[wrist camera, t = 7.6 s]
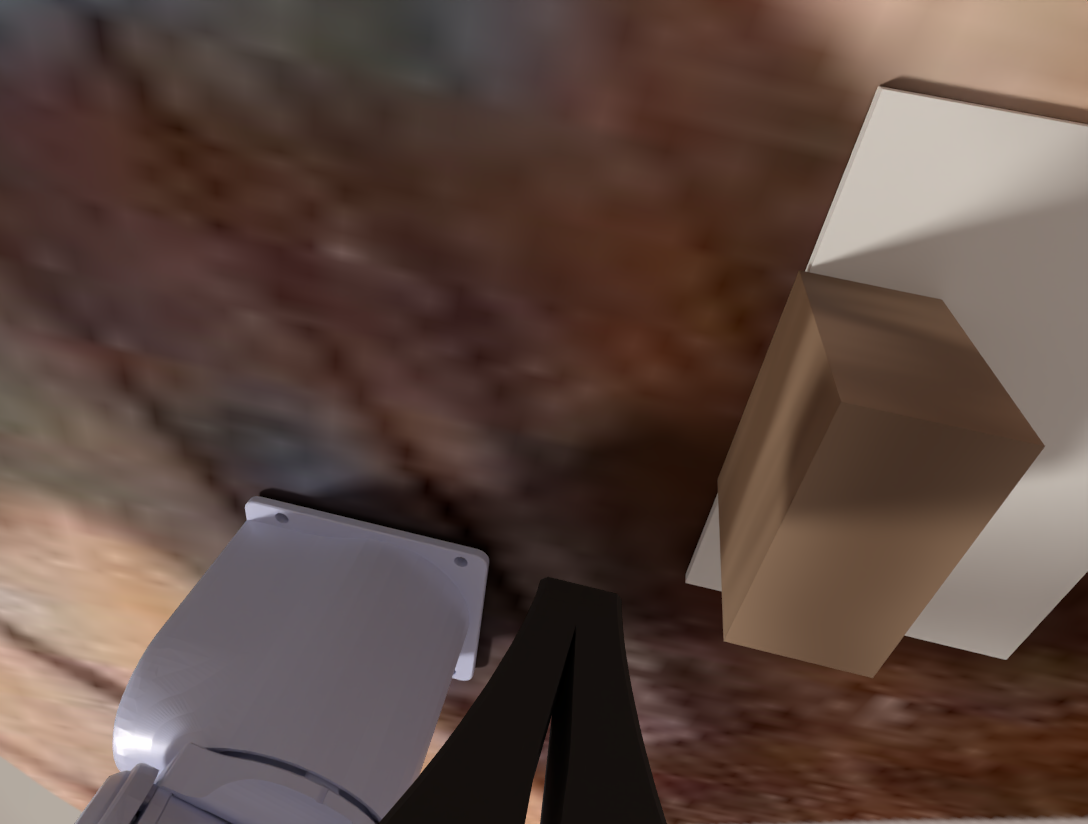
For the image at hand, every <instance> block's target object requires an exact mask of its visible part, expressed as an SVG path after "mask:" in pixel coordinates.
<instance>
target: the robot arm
mask: <svg viewBox="0 0 1088 824" xmlns="http://www.w3.org/2000/svg"><path fill="white" fill-rule="evenodd" d="M245 511H246V517H247V521H246V522H245V523H244V524H243V526H242V527H241V528H240V529H239V531H238V532H237V533H236V535H235V536H234V537H233V538H232V540H231V541H230V542H229V543H228V545H227V546H226V547H225V548H224V550H223V551H222V552H221V553H220V555H219V556H218V557H217V559H216V560H215V561H214V562H213V564H212V565H211V566H210V567H209V569H208V570H207V571H206V572H205V574H204V575H203V576H202V578H201V579H200V580H199V581H198V583H197V584H196V585H195V586H194V588H193V589H192V590H191V591H190V593H189V594H188V595H187V596H186V598H185V599H184V600H183V602H182V603H181V604H180V605H179V607H178V608H177V609H176V610H175V612H174V613H173V614H172V615H171V617H170V618H169V619H168V621H167V622H166V623H165V624H164V626H163V627H162V628H161V629H160V631H159V632H158V633H157V634H156V636H155V637H154V639H153V640H152V641H151V643H150V644H149V646H148V647H147V649H146V651H145V652H144V654H143V655H142V657H141V659H140V660H139V662H138V664H137V666H136V668H135V670H134V672H133V674H132V676H131V678H130V680H129V682H128V684H127V687H126V689H125V691H124V694H123V696H122V699H121V702H120V704H119V708H118V711H117V714H116V719H115V723H114V731H113V755H114V760H115V763H116V766H117V767H118V769H119V770H120V772H119V773H116V774H114V775H111V776H109V777H108V778H107V779H106V781H105V782H104V783H103V785H102V786H101V787H100V789H99V790H98V792H97V793H96V794H95V796H94V797H93V798H92V800H91V801H90V802H89V804H88V805H87V807H86V808H85V809H84V811H83V812H82V814H81V815H80V816H79V818H78V819H77V820H76V822H75V823H74V824H525V819H526V814H527V808H528V803H529V798H530V793H531V787H532V782H533V778H534V775H535V771H536V768H537V764H538V761H539V757H540V754H541V750H542V747H543V744H544V740H545V737H546V733H547V730H548V726H549V723H550V719H551V716H552V719H551V728H550V737H549V747H548V756H547V765H546V774H545V784H544V793H543V802H542V812H541V821H540V824H667V823H666V820H665V817H664V813H663V810H662V807H661V804H660V800H659V797H658V794H657V790H656V787H655V783H654V780H653V776H652V772H651V769H650V765H649V761H648V757H647V754H646V750H645V746H644V742H643V738H642V734H641V729H640V725H639V720H638V716H637V711H636V706H635V702H634V697H633V692H632V687H631V682H630V676H629V670H628V664H627V657H626V651H625V643H624V634H623V623H622V600H621V598H620V597H619V596H618V594H616V593H612V592H608V591H604V590H600V589H595V588H591V587H587V586H583V585H579V584H575V583H571V582H567V581H563V580H558V579H554V578H550V577H547V578H544V579H542V580H541V581H540V584H539V587H538V590H537V593H536V596H535V598H534V600H533V603H532V605H531V607H530V610H529V612H528V614H527V616H526V618H525V620H524V622H523V624H522V626H521V628H520V629H519V631H518V633H517V635H516V637H515V639H514V641H513V642H512V644H511V646H510V647H509V649H508V651H507V652H506V654H505V656H504V657H503V659H502V661H501V662H500V664H499V665H498V667H497V669H496V670H495V672H494V674H493V675H492V677H491V679H490V680H489V682H488V683H487V685H486V686H485V688H484V689H483V691H482V692H481V693H480V695H479V696H478V698H477V699H476V701H475V702H474V704H473V705H472V706H471V708H470V709H469V711H468V712H467V714H466V715H465V716H464V718H463V719H462V721H461V722H460V724H459V725H458V726H457V728H456V729H455V730H454V732H453V733H452V734H451V736H450V737H449V738H448V740H447V741H446V742H445V744H444V745H443V746H442V748H441V749H440V750H439V751H438V753H437V754H436V755H435V757H434V758H433V759H432V760H431V762H430V763H429V764H428V765H427V767H426V768H425V769H424V770H423V772H422V773H421V774H420V772H421V769H422V766H423V763H424V760H425V757H426V754H427V751H428V748H429V745H430V742H431V739H432V736H433V733H434V730H435V727H436V724H437V721H438V718H439V715H440V712H441V709H442V706H443V703H444V700H445V697H446V695H447V692H448V689H449V686H450V683H451V680H452V678H455V679H459V680H464V681H465V680H469V679H471V678H472V677H473V674H474V671H475V664H476V657H477V650H478V642H479V635H480V627H481V620H482V612H483V605H484V598H485V590H486V583H487V575H488V568H489V557H488V556H487V554H486V553H484V552H483V551H481V550H479V549H475V548H471V547H467V546H463V545H459V544H455V543H451V542H446V541H442V540H438V539H434V538H430V537H426V536H422V535H418V534H413V533H409V532H405V531H401V530H397V529H393V528H389V527H385V526H380V525H376V524H372V523H368V522H364V521H360V520H356V519H351V518H347V517H343V516H339V515H335V514H331V513H327V512H323V511H318V510H314V509H310V508H306V507H302V506H298V505H294V504H290V503H285V502H281V501H277V500H273V499H269V498H265V497H260V496H254V497H252V498H251V499H250V500H249V501H248V502H247V504H246V505H245ZM460 557H462V558H465V559H462V558H460Z"/></svg>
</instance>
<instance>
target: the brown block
mask: <svg viewBox="0 0 1088 824" xmlns="http://www.w3.org/2000/svg"><path fill="white" fill-rule="evenodd" d="M1044 447H1045V445H1044V444H1043V442H1042V441H1041V440H1040V438H1039V437H1038V435H1037V434H1036V432H1035V431H1034V430H1033V428H1032V427H1031V425H1030V424H1029V422H1028V421H1027V420H1026V418H1025V417H1024V415H1023V414H1022V413H1021V411H1020V410H1019V408H1018V407H1017V405H1016V404H1015V403H1014V401H1013V400H1012V398H1011V397H1010V395H1009V394H1008V393H1007V391H1006V390H1005V388H1004V387H1003V385H1002V384H1001V383H1000V381H999V380H998V378H997V377H996V376H995V374H994V373H993V371H992V370H991V368H990V367H989V366H988V364H987V363H986V361H985V360H984V358H983V357H982V356H981V354H980V353H979V351H978V350H977V348H976V347H975V346H974V344H973V343H972V341H971V340H970V339H969V337H968V336H967V334H966V333H965V331H964V330H963V329H962V327H961V326H960V324H959V323H958V321H957V320H956V319H955V317H954V316H953V314H952V313H951V311H950V310H949V309H948V307H947V306H946V304H945V303H944V302H943V300H941V299H937V298H932V297H927V296H922V295H917V294H912V293H907V292H903V291H898V290H893V289H888V288H883V287H878V286H873V285H869V284H864V283H859V282H854V281H849V280H844V279H839V278H835V277H830V276H825V275H820V274H815V273H810V272H805V271H801V270H799V272H798V275H797V277H796V280H795V282H794V285H793V287H792V290H791V292H790V295H789V298H788V300H787V303H786V305H785V308H784V310H783V313H782V315H781V318H780V321H779V323H778V326H777V328H776V331H775V333H774V336H773V339H772V341H771V344H770V346H769V349H768V351H767V354H766V356H765V359H764V362H763V364H762V367H761V369H760V372H759V374H758V377H757V379H756V382H755V385H754V387H753V390H752V392H751V395H750V397H749V400H748V403H747V405H746V408H745V410H744V413H743V415H742V418H741V420H740V423H739V426H738V428H737V431H736V433H735V436H734V438H733V441H732V443H731V446H730V449H729V451H728V454H727V456H726V459H725V461H724V464H723V466H722V469H721V472H720V474H719V477H718V479H717V481H718V507H719V533H720V559H721V585H722V611H723V637H724V641H725V642H729V643H733V644H737V645H741V646H745V647H749V648H753V649H757V650H761V651H765V652H769V653H774V654H778V655H782V656H786V657H790V658H794V659H798V660H802V661H806V662H810V663H814V664H818V665H822V666H826V667H830V668H834V669H838V670H842V671H846V672H851V673H855V674H859V675H863V676H867V677H871V678H873V677H874V675H875V674H876V673H877V671H878V670H879V669H880V667H881V666H882V665H883V663H884V662H885V661H886V659H887V658H888V657H889V655H890V654H891V653H892V651H893V650H894V649H895V647H896V646H897V645H898V643H899V642H900V641H901V639H902V638H903V637H904V635H905V634H906V632H907V631H908V630H909V628H910V627H911V626H912V624H913V623H914V622H915V620H916V619H917V618H918V616H919V615H920V614H921V612H922V611H923V610H924V608H925V607H926V606H927V604H928V603H929V602H930V600H931V599H932V598H933V596H934V595H935V594H936V592H937V591H938V590H939V588H940V587H941V585H942V584H943V583H944V581H945V580H946V579H947V577H948V576H949V575H950V573H951V572H952V571H953V569H954V568H955V567H956V565H957V564H958V563H959V561H960V560H961V559H962V557H963V556H964V555H965V553H966V552H967V551H968V549H969V548H970V547H971V545H972V544H973V543H974V541H975V540H976V539H977V537H978V536H979V534H980V533H981V532H982V530H983V529H984V528H985V526H986V525H987V524H988V522H989V521H990V520H991V518H992V517H993V516H994V514H995V513H996V512H997V510H998V509H999V508H1000V506H1001V505H1002V504H1003V502H1004V501H1005V500H1006V498H1007V497H1008V496H1009V494H1010V493H1011V492H1012V490H1013V489H1014V488H1015V486H1016V485H1017V483H1018V482H1019V481H1020V479H1021V478H1022V477H1023V475H1024V474H1025V473H1026V471H1027V470H1028V469H1029V467H1030V466H1031V465H1032V463H1033V462H1034V461H1035V459H1036V458H1037V457H1038V455H1039V454H1040V453H1041V451H1042V450H1043V449H1044Z"/></svg>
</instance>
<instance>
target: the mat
mask: <svg viewBox="0 0 1088 824" xmlns="http://www.w3.org/2000/svg"><path fill="white" fill-rule="evenodd" d="M805 272H810V273H815V274H820V275H825V276H830V277H835V278H839V279H844V280H849V281H854V282H859V283H864V284H869V285H873V286H878V287H883V288H888V289H893V290H898V291H903V292H907V293H912V294H917V295H922V296H927V297H932V298H937V299H941V300H943V302H944V303H945V304H946V306H947V307H948V309H949V310H950V311H951V313H952V314H953V316H954V317H955V319H956V320H957V321H958V323H959V324H960V326H961V327H962V329H963V330H964V331H965V333H966V334H967V336H968V337H969V339H970V340H971V341H972V343H973V344H974V346H975V347H976V348H977V350H978V351H979V353H980V354H981V356H982V357H983V358H984V360H985V361H986V363H987V364H988V366H989V367H990V368H991V370H992V371H993V373H994V374H995V376H996V377H997V378H998V380H999V381H1000V383H1001V384H1002V385H1003V387H1004V388H1005V390H1006V391H1007V393H1008V394H1009V395H1010V397H1011V398H1012V400H1013V401H1014V403H1015V404H1016V405H1017V407H1018V408H1019V410H1020V411H1021V413H1022V414H1023V415H1024V417H1025V418H1026V420H1027V421H1028V422H1029V424H1030V425H1031V427H1032V428H1033V430H1034V431H1035V432H1036V434H1037V435H1038V437H1039V438H1040V440H1041V441H1042V442H1043V444H1044V445H1045V447H1044V449H1043V450H1042V451H1041V453H1040V454H1039V455H1038V457H1037V458H1036V459H1035V461H1034V462H1033V463H1032V465H1031V466H1030V467H1029V469H1028V470H1027V471H1026V473H1025V474H1024V475H1023V477H1022V478H1021V479H1020V481H1019V482H1018V483H1017V485H1016V486H1015V488H1014V489H1013V490H1012V492H1011V493H1010V494H1009V496H1008V497H1007V498H1006V500H1005V501H1004V502H1003V504H1002V505H1001V506H1000V508H999V509H998V510H997V512H996V513H995V514H994V516H993V517H992V518H991V520H990V521H989V522H988V524H987V525H986V526H985V528H984V529H983V530H982V532H981V533H980V534H979V536H978V537H977V539H976V540H975V541H974V543H973V544H972V545H971V547H970V548H969V549H968V551H967V552H966V553H965V555H964V556H963V557H962V559H961V560H960V561H959V563H958V564H957V565H956V567H955V568H954V569H953V571H952V572H951V573H950V575H949V576H948V577H947V579H946V580H945V581H944V583H943V584H942V585H941V587H940V588H939V590H938V591H937V592H936V594H935V595H934V596H933V598H932V599H931V600H930V602H929V603H928V604H927V606H926V607H925V608H924V610H923V611H922V612H921V614H920V615H919V616H918V618H917V619H916V620H915V622H914V623H913V624H912V626H911V627H910V628H909V630H908V631H907V632H906V634H905V636H909V637H913V638H917V639H921V640H925V641H930V642H934V643H938V644H942V645H946V646H950V647H955V648H959V649H963V650H967V651H971V652H975V653H980V654H984V655H988V656H992V657H996V658H1000V659H1005V660H1007V659H1008V657H1009V656H1010V655H1011V654H1012V653H1013V652H1014V651H1015V650H1016V649H1017V648H1018V647H1019V645H1020V644H1021V643H1022V642H1023V641H1024V640H1025V639H1026V638H1027V637H1028V636H1029V635H1030V634H1031V632H1032V631H1033V630H1034V629H1035V628H1036V627H1037V626H1038V625H1039V624H1040V623H1041V622H1042V620H1043V619H1044V618H1045V617H1046V616H1047V615H1048V614H1049V613H1050V612H1051V611H1052V610H1053V609H1054V607H1055V606H1056V605H1057V604H1058V603H1059V602H1060V601H1061V600H1062V599H1063V598H1064V597H1065V595H1066V594H1067V593H1068V592H1069V591H1070V590H1071V589H1072V588H1073V587H1074V586H1075V585H1076V584H1077V582H1078V581H1079V580H1080V579H1081V578H1082V577H1083V576H1084V575H1085V574H1086V573H1087V572H1088V124H1083V123H1078V122H1072V121H1067V120H1062V119H1056V118H1051V117H1045V116H1040V115H1034V114H1029V113H1023V112H1018V111H1012V110H1007V109H1001V108H996V107H991V106H985V105H980V104H974V103H969V102H963V101H958V100H952V99H947V98H941V97H936V96H931V95H925V94H920V93H914V92H909V91H903V90H898V89H892V88H887V87H881V86H878V88H877V91H876V93H875V96H874V98H873V101H872V103H871V106H870V108H869V111H868V113H867V116H866V119H865V121H864V124H863V126H862V129H861V131H860V134H859V136H858V139H857V141H856V144H855V146H854V149H853V151H852V154H851V156H850V159H849V162H848V164H847V167H846V169H845V172H844V174H843V177H842V179H841V182H840V184H839V187H838V189H837V192H836V194H835V197H834V200H833V202H832V205H831V207H830V210H829V212H828V215H827V217H826V220H825V222H824V225H823V227H822V230H821V232H820V235H819V238H818V240H817V243H816V245H815V248H814V250H813V253H812V255H811V258H810V260H809V263H808V265H807V268H806V270H805ZM685 583H688V584H692V585H697V586H701V587H705V588H709V589H713V590H717V591H722V585H721V559H720V533H719V507H718V493H717V496H716V498H715V501H714V503H713V506H712V509H711V511H710V514H709V516H708V519H707V521H706V524H705V526H704V529H703V531H702V534H701V536H700V539H699V541H698V544H697V546H696V549H695V552H694V554H693V557H692V559H691V562H690V564H689V567H688V569H687V572H686V577H685Z"/></svg>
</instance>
